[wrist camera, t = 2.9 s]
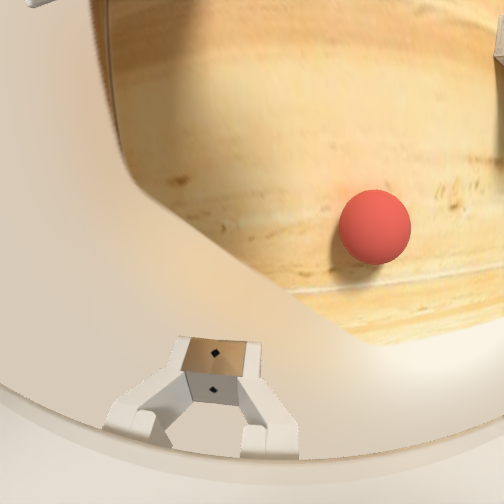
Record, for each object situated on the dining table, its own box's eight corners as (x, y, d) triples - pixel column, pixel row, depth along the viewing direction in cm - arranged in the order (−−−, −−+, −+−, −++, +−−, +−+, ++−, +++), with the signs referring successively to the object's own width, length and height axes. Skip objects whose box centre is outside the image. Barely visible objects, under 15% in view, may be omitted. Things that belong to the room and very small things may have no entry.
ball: (329, 242, 24) (342, 278, 19) (336, 179, 21) (354, 200, 16) (388, 245, 24) (412, 279, 19) (399, 185, 21) (430, 207, 16)
